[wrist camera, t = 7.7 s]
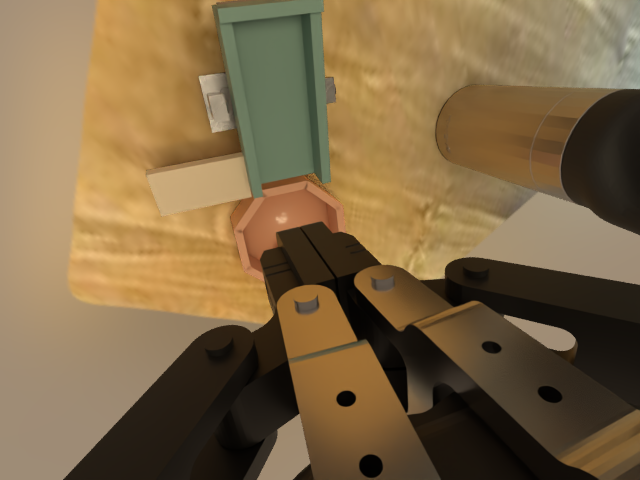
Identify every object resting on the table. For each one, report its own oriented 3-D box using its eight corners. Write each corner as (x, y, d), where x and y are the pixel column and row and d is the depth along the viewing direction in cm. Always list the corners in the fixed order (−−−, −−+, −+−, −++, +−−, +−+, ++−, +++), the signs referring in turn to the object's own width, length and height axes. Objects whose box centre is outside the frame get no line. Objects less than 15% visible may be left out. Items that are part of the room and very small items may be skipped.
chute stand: (311, 60, 37) (334, 56, 31) (317, 112, 39) (340, 119, 33) (198, 76, 35) (199, 76, 29) (211, 131, 37) (215, 142, 31)
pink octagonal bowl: (327, 165, 42) (339, 173, 38) (338, 256, 47) (350, 271, 43) (222, 187, 39) (225, 198, 36) (246, 281, 44) (250, 298, 41)
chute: (299, -6, 30) (323, -3, 25) (314, 168, 38) (333, 194, 34) (94, 15, 26) (78, 23, 22) (161, 200, 35) (161, 233, 31)
